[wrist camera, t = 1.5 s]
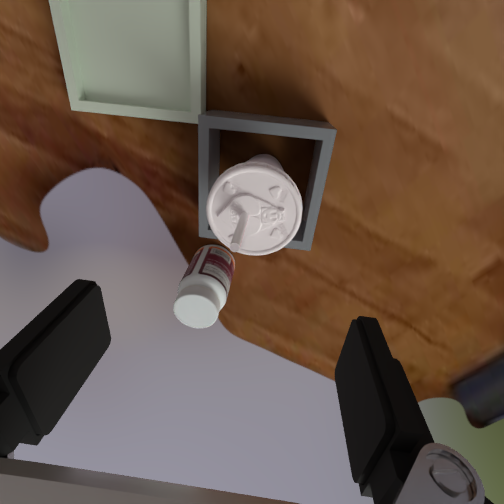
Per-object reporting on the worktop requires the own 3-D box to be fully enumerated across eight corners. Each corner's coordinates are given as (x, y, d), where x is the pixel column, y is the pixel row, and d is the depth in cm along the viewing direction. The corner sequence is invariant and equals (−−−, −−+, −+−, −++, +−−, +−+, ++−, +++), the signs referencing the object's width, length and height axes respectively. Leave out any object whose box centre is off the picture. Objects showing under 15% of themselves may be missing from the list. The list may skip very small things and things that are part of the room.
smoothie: (226, 139, 26) (174, 190, 14) (298, 135, 25) (309, 185, 13) (233, 207, 29) (195, 294, 17) (297, 205, 28) (305, 296, 16)
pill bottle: (203, 282, 34) (181, 335, 27) (188, 247, 32) (159, 295, 25) (241, 275, 33) (228, 328, 26) (228, 239, 31) (210, 286, 24)
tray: (39, -133, 19) (17, -152, 17) (207, -121, 18) (199, -139, 17) (84, 108, 26) (71, 110, 24) (205, 121, 25) (200, 124, 24)
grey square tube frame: (211, 109, 25) (198, 114, 21) (328, 122, 24) (336, 129, 21) (210, 216, 30) (198, 236, 26) (307, 228, 30) (310, 250, 26)
